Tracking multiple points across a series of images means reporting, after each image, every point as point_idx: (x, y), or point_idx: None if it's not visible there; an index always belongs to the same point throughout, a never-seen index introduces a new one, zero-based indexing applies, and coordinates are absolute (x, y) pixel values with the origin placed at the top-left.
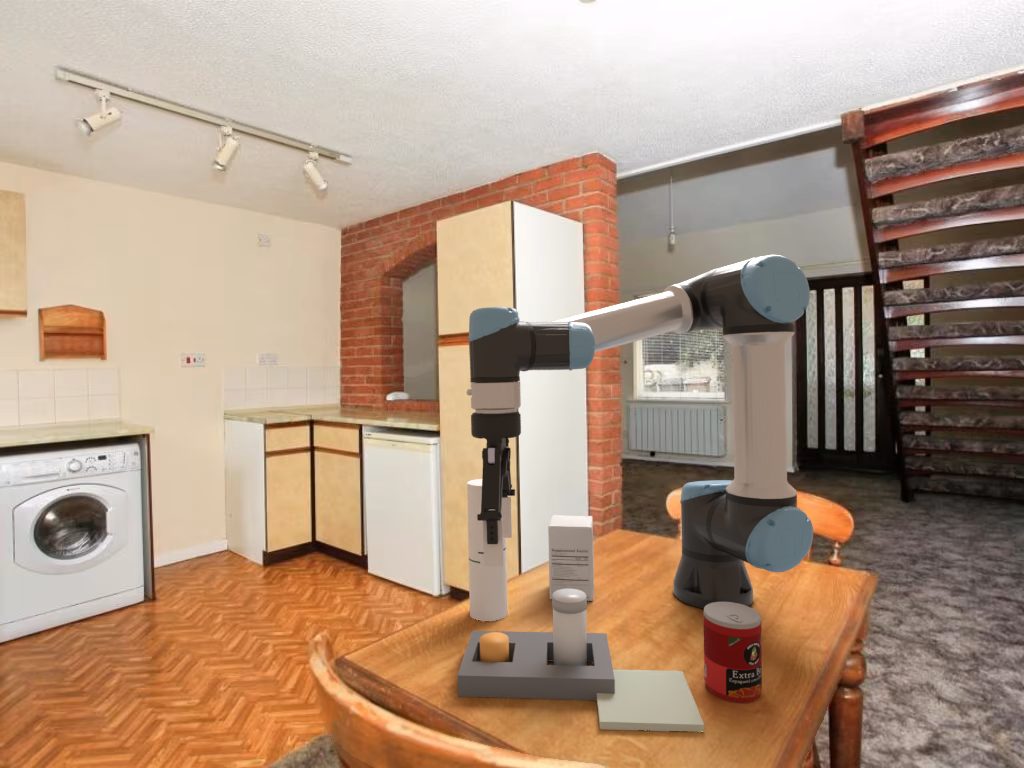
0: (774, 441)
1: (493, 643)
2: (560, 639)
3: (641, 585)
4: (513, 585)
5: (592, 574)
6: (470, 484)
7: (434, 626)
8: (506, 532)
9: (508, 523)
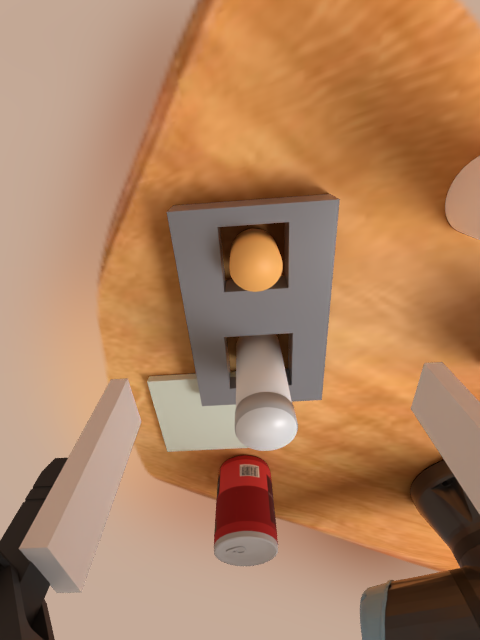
0: None
1: (236, 269)
2: (239, 372)
3: None
4: None
5: None
6: None
7: (447, 69)
8: (424, 409)
9: (441, 444)
